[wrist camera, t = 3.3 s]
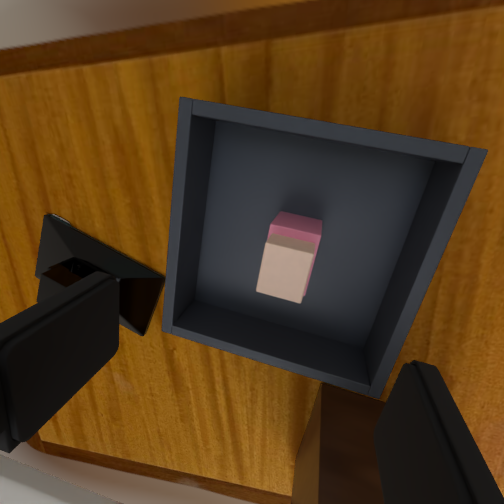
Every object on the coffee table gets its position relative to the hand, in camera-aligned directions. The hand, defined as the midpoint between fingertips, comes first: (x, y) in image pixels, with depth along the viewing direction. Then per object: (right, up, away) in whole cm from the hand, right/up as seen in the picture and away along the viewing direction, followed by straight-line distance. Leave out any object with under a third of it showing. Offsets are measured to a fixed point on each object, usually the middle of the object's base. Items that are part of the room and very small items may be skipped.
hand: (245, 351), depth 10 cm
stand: (+10, -14, +17) cm, 24 cm away
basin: (+4, +4, +13) cm, 14 cm away
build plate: (-14, +1, +18) cm, 23 cm away
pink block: (+3, +4, +12) cm, 13 cm away
